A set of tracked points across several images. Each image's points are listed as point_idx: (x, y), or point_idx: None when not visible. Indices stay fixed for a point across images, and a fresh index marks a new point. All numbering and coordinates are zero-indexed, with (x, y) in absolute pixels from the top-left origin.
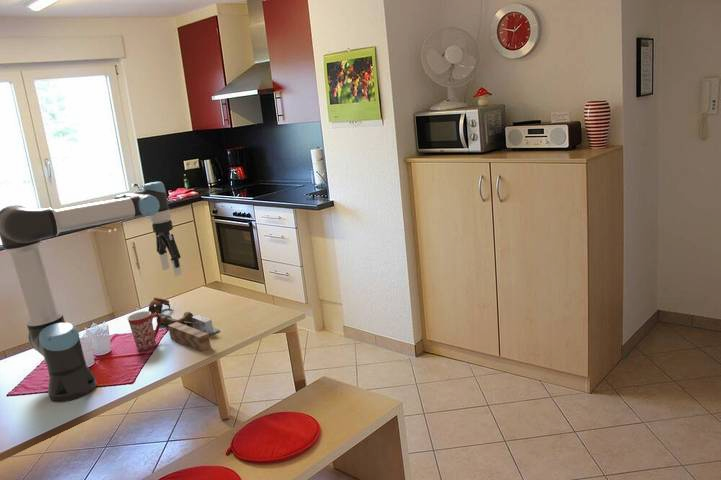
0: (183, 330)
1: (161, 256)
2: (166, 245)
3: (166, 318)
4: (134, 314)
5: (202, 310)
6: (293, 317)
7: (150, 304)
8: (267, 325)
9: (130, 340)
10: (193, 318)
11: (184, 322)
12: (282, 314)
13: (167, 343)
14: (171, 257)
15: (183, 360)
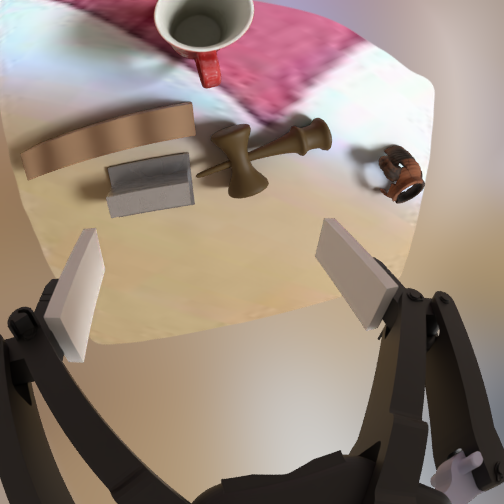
0: (99, 128)
1: (376, 286)
2: (118, 485)
3: (296, 138)
4: (248, 7)
5: (303, 236)
6: (89, 334)
7: (412, 161)
8: None
9: (290, 29)
10: (175, 184)
11: (224, 163)
12: (117, 330)
13: (161, 83)
14: (50, 343)
15: (26, 95)
